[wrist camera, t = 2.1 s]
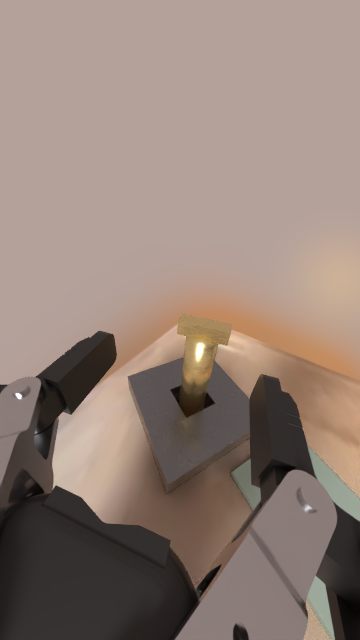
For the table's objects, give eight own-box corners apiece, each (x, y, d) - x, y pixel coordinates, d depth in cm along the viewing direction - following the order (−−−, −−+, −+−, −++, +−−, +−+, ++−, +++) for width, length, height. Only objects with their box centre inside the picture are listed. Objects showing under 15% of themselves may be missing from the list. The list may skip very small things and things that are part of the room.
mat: (289, 430, 29) (290, 428, 28) (388, 533, 20) (392, 532, 20) (230, 473, 24) (231, 472, 23) (330, 638, 15) (334, 639, 15)
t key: (210, 402, 32) (232, 319, 22) (205, 424, 28) (229, 339, 19) (176, 392, 33) (184, 309, 24) (169, 412, 30) (175, 326, 20)
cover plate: (202, 360, 40) (204, 350, 38) (261, 430, 28) (267, 419, 27) (129, 387, 33) (127, 376, 31) (167, 493, 22) (167, 484, 20)
